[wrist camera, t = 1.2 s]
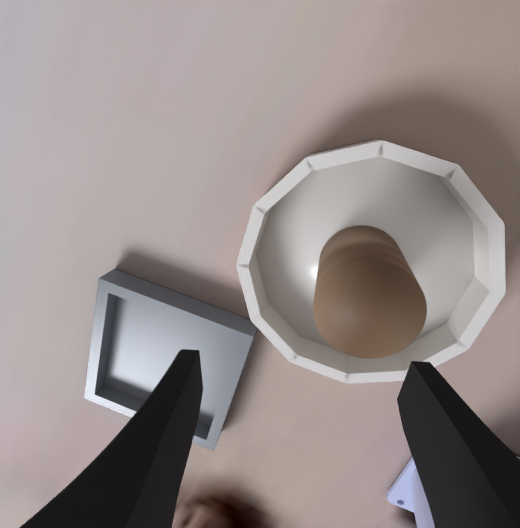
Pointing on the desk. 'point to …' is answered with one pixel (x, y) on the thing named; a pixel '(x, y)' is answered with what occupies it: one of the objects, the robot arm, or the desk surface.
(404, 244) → the bowl
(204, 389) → the tray
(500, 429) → the desk surface
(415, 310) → the cylinder
